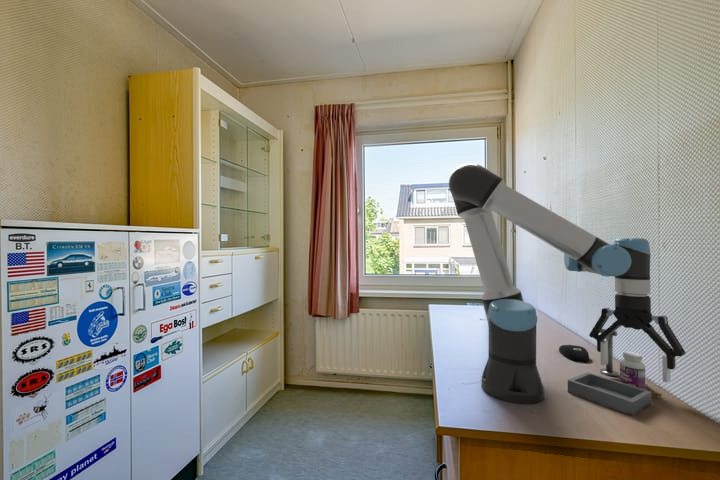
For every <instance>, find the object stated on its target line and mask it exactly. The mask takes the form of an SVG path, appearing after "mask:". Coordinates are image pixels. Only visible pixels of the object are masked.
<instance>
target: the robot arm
mask: <svg viewBox="0 0 720 480" xmlns="http://www.w3.org/2000/svg"><path fill="white" fill-rule="evenodd" d="M448 188H449V192H450V194H451V196H452V200H453V202H454V206H455V210H456V213H457V216H458V217H460V218H461V219H463V221H464V224H465V227H466V231H467V234H468V239H469V241H470V245H471V249H472V252H473V254H474V258H475V259H474V260H475V262H476V266H477V269H478V273H479V277H480V281H481V283H482V287H483V291H484V292H483V293H482V295H481V297H480V298H481V301H482V306H483V308H484V309H483V310H484V312H485V316H486V320H487V326H488V327H487V328H488V357H487V362H486V363H485V367H484V369H483V372H482V375H481V388H482V389H483V390H484V391H485V392H486V393H487V394H489V395H490V396H493V397H495V398H497V399H500V400H503V401H506V402H511V403H516V404H536V403H539V402H541V401H543V400H544V397H545V392H544V391H545V388H544V385H543V381H542V378H541V375H540V372H539V369H538V366H537V323H538V316H537V310H536V307H535V306H534V305H532V304H531V303H529V302H525V301H524V298H523V294H522V291H521V289H520V288H517V287H515V285H514V283H513V280H512V277H511V273H510V268H509V266H508V263H507V259H506V256H505V253H504V249H503V246H502V243H501V240H500V239H501V238H500V236H499V233H498V229H497V225H496V223H495V219H494V215H493V212H494V213H496V214H497V215H499V216H501V217H502V218H504V219H505V220H507V221H509V222H510V223H512V224H514V225H516V226H518V227H519V228H521V229H523V230H524V231H525V232H527V233H529V234H531V235H533V236H534V237H536V238H537V239H539V240H540V241H543V242H545V243H546V244H547V245H549V246H551V247H552V248H555V249H556V250H557V251H560V252H561V253H563V254H564V255H563V262H564V266H565V269H566V270H568V271H569V272H578V273H580V272H583V273H584V272H588V273H591V274H596V275H600V276H603V277H605V278H606V277H608V278H609V277H614V292H616V294H614V309H611V308H609V307H604V308H602V309H601V311H600V313H601V314H600V316H599V318H598V320H597V321H596V323H595V324H594V326H593V327H594V328H593V327H592V329H591V331H590V333H589V335H588V336H589V337H590V338H593V339H594V340H596V350H597V352H599V353H600V365H601V366H606V364H608V341H606V338H607V337H608V336H609V335H610V334H612V333H613V332H614V331H618V329H620V328H621V327H624V328H625V329H626V328H627V329H633V330H637V331H640V330H642V331H643V332H644V334H646V335H648V337H649V338H650V339H651V340H652V341H653V342H654V343H655V344H656V345H657V346H658V347H659V348H660V350H662V352H663V353H664V354H663V355H662V357H661V359H662V360H661V361H662V362H661V363H662V382H663V383H668V382H670V381H671V370H672V371H673V370H674V369H676V357H683V356H685V355H686V351H685V349H684V347H683V346H682V343H680V341H679V339H678V338H677V336H676V334H675V333H674V331H673V329H672V328H671V327H670V325H669V320H668V317H667V316H666V315H665V314H664V315H653V314H652V311H651V310H652V301H651V300H652V299H651V297H650V296H649V295H650V294H651V249H650V248H651V247H650V242H649V240H648V239H646V238H643V237H641V238H637V237H635V238H629V237H628V238H615V239H614V241H613V244H610V243H608V242H607V241H605V240H603V239H601V238H599V237H598V236H596V235H595V234H592V233H590V231H589V232H588V231H587V230H585V229H584V228H582V227H580V226H578V225H577V224H574V223H573V222H571V221H569V220H567V219H566V218H564V217H562V216H561V215H559V214H557V213H556V212H554V211H552V210H550V209H549V208H547V207H545V206H543V205H542V204H540V203H538V202H537V201H535V200H533V199H531V198H529V197H527V196H525V194H522V193H520V192H518V191H517V190H515V189H513V188H512V187H510V186H508V185H507V184H506V181H505V179H504V178H502V177H500V176H498V175H497V174H495V172H494V173H493V172H492V171H491V170H489V169H488V168H486V167H484V166H482V165H480V164H478V163H473V162H472V163H471V162H469V163H464V164H461V165H459V166H458V167H456V168H455V169H454V170H453V171H452V173H451V174H450V177H449V180H448ZM612 316H614V317H615V318H616V320H615V321H614V322H613V323H612V324H611V325H610V326H609V327H607V328H605V329H606V330H605V331H604V332H603V333H599V332H600V331H601V329H604V326H605V324H606V323H607V321H608V320H609V318H610V317H612ZM652 321H654V322H655V324H657V325H658V326H659V328H660V330H661V332H662V333H663V335H664V336H665V339H666V340H667V342H666V341H665V339H664V338H663V337H662V336H661V335H660V334H659V333H658V332H657V331H656V330H655V328H654V327H653V326H652V324H651V323H652Z"/></svg>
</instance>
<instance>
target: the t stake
mask: <svg viewBox="0 0 720 480" xmlns="http://www.w3.org/2000/svg"><path fill="white" fill-rule="evenodd" d="M593 328H594V326H593V327H592V329H593ZM606 329H607V328H602V329H601V331H600V332H599V334H601V333H603V332H604V331H605V330H606ZM617 336H618V330H615V331H614V332H613V333H612V334H610V335H609V336H608V337H607V338H606V339H605V341H608V364H606V365H605V368H601V369H600V371H599V372H600V373H601V374H602V375H604V376H606V377H607V376H608V377H612V378H617V377H620V372H618V371H616V370H613V369H614V368H613V367H614V366H613V363H614V361H613V360H614V359H613V358H614V357H613V356H614V353H613V351H614V346H613V345H614V343H613V342H614V341H613V339H614V338H613V337H617Z"/></svg>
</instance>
